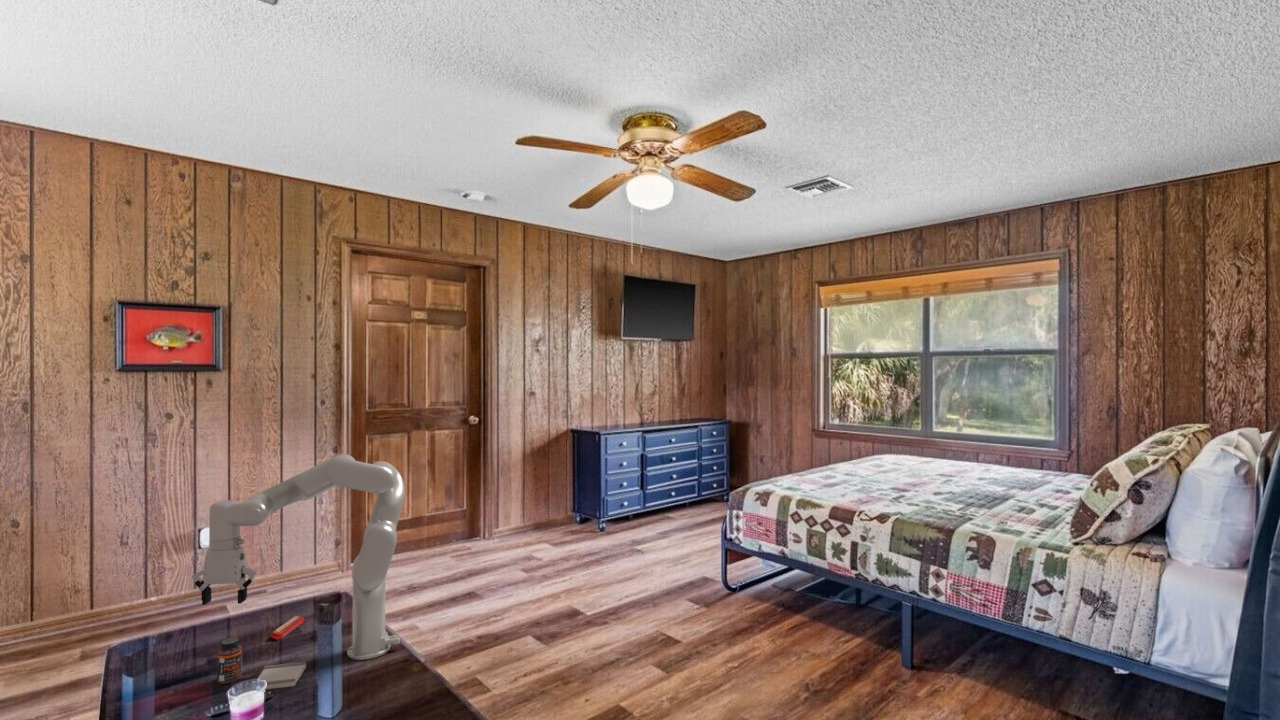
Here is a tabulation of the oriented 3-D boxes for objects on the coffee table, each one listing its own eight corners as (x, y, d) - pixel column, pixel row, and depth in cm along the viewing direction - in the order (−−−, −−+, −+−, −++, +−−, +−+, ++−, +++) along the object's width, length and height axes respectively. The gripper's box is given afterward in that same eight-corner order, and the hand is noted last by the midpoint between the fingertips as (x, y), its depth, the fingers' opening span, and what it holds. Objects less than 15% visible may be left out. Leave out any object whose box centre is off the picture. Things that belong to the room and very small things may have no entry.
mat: (306, 667, 183) (306, 661, 183) (294, 685, 172) (294, 679, 172) (265, 671, 180) (265, 666, 180) (250, 691, 169) (251, 684, 169)
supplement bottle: (223, 687, 171) (223, 647, 172) (213, 681, 175) (213, 642, 175) (245, 677, 177) (245, 639, 177) (235, 672, 180) (235, 634, 180)
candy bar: (279, 642, 200) (279, 633, 200) (268, 642, 200) (268, 633, 200) (306, 621, 216) (306, 613, 216) (296, 621, 216) (296, 613, 216)
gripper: (262, 539, 182) (262, 596, 181) (201, 540, 180) (200, 598, 180) (249, 546, 174) (248, 606, 174) (185, 548, 173) (184, 608, 172)
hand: (224, 602), depth 177 cm, fingers open, 9 cm apart
